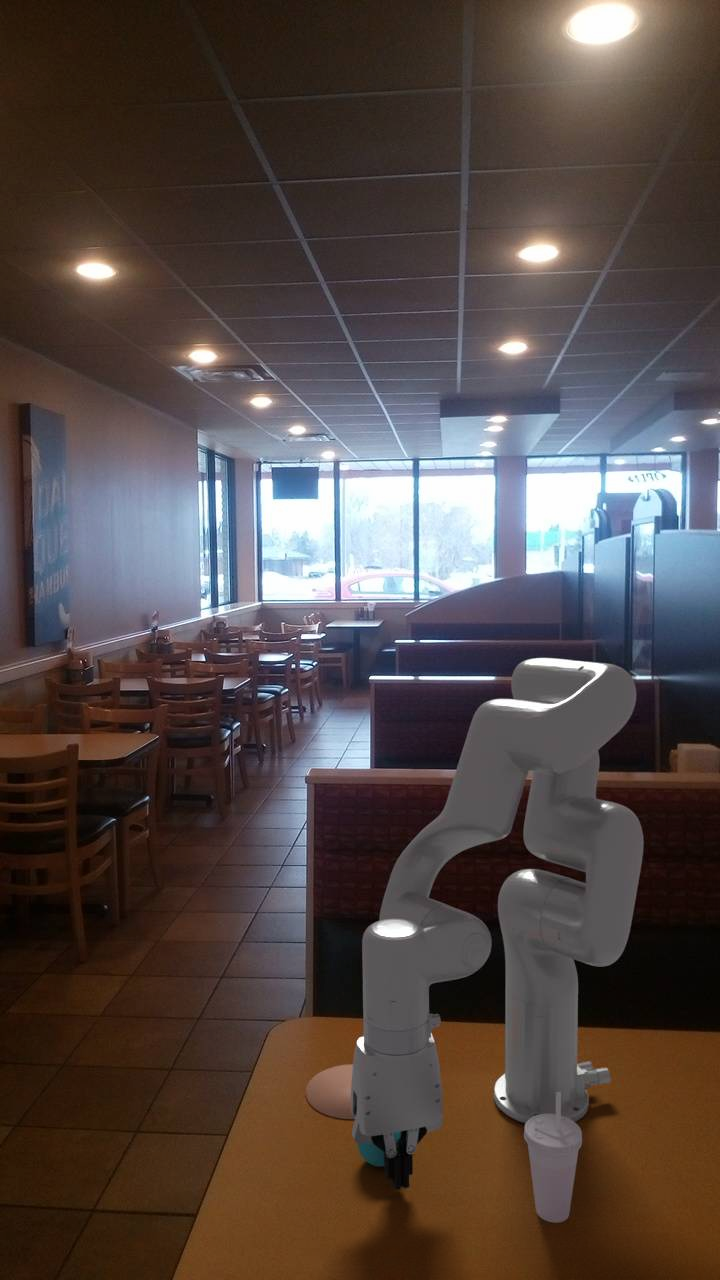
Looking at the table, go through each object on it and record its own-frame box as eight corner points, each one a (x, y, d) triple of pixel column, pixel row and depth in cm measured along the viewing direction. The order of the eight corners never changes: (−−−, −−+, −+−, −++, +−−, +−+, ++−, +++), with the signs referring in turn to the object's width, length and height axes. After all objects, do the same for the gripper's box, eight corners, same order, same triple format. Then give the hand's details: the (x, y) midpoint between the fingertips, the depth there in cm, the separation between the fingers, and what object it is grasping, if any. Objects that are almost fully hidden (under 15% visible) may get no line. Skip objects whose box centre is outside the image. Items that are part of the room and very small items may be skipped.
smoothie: (582, 1235, 102) (583, 1112, 100) (522, 1227, 103) (523, 1106, 102) (580, 1195, 108) (581, 1079, 107) (524, 1188, 109) (524, 1074, 108)
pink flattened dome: (385, 1060, 137) (385, 1058, 137) (411, 1110, 125) (411, 1109, 125) (298, 1073, 134) (298, 1071, 134) (316, 1126, 122) (316, 1124, 122)
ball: (412, 1138, 112) (406, 1170, 114) (394, 1100, 116) (389, 1132, 118) (369, 1149, 110) (364, 1182, 112) (353, 1111, 114) (349, 1143, 117)
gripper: (446, 1006, 113) (447, 1149, 114) (325, 1024, 109) (328, 1172, 111) (469, 1036, 105) (470, 1189, 107) (341, 1057, 102) (344, 1216, 103)
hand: (398, 1180), depth 109 cm, fingers closed
